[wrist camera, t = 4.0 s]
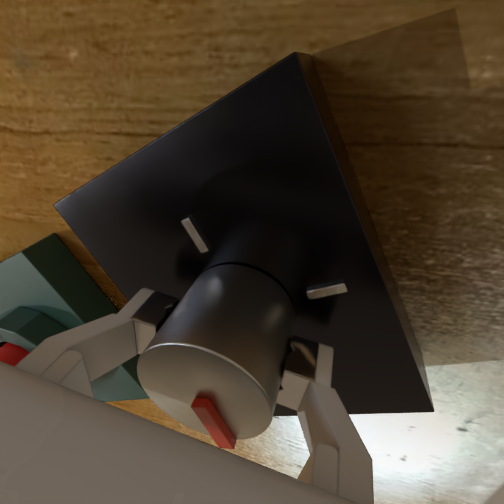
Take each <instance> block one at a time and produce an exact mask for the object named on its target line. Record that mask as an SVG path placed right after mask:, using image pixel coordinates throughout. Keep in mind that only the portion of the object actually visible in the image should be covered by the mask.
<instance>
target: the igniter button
mask: <svg viewBox="0 0 504 504" xmlns="http://www.w3.org/2000/svg"><path fill="white" fill-rule="evenodd" d="M29 353H30V352H29V351H27V350H25V349H24V348H22V347H21V346H18V345H15V344H12V343H9V342H8V343H6V344H4V345H3V346H2V347H1V348H0V361H1V362H4V363H6V364H9V365H11V366H15V365H17V364H18V363H19V362H20V361H21V360H22V359H23V358H24V357H26V356H27V355H28V354H29Z"/></svg>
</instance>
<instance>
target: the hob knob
mask: <svg viewBox="0 0 504 504" xmlns="http://www.w3.org/2000/svg"><path fill="white" fill-rule="evenodd" d="M294 326H295V310H294V307H293V304H292V302H291V300H290V298H289V296H288V295H287V293H286V292H285V290H284V289H283V288H282V287H281V286H280V285H279V284H278V283H277V282H276V281H275V280H273V279H272V278H271V277H269V276H268V275H266V274H264V273H262V272H260V271H258V270H256V269H253V268H250V267H247V266H242V265H235V264H226V265H219V266H216V267H212V268H210V269H208V270H206V271H205V272H203V273H202V274H201V275H200V276H199V277H198V278H197V279H196V281H195V282H194V284H193V285H192V286H191V288H190V289H189V290H188V292H187V293H186V294H185V296H184V297H183V298H182V300H181V301H180V302H179V304H178V305H177V307H176V308H175V309H174V311H173V312H172V313H171V315H170V316H169V317H168V319H167V320H166V321H165V323H164V324H163V325H162V327H161V328H160V329H159V331H158V332H157V334H156V335H155V336H154V338H153V339H152V340H151V342H150V343H149V344H148V346H147V347H146V348H145V350H144V351H143V352H142V354H141V355H140V357H139V360H138V363H137V374H138V378H139V381H140V383H141V385H142V387H143V389H144V391H145V392H146V393H147V395H148V396H149V397H150V399H151V400H152V401H153V402H154V403H155V404H156V405H157V406H158V407H159V408H160V409H162V410H163V411H164V412H165V413H167V414H168V415H169V416H171V417H172V418H174V419H175V420H177V421H178V422H180V423H182V424H184V425H185V426H187V427H189V428H191V429H194V430H196V431H199V432H201V433H204V434H207V435H210V436H212V438H213V439H214V441H215V442H216V443H217V445H218V446H219V448H226V449H234V447H235V444H236V439H237V440H238V439H248V438H252V437H255V436H258V435H259V434H261V433H263V432H264V431H265V430H266V429H267V428H268V426H269V425H270V423H271V421H272V418H273V414H274V410H275V405H276V401H277V397H278V393H279V389H280V384H281V377H282V373H283V368H284V364H285V361H286V358H287V352H288V348H289V344H290V340H291V336H292V334H293V330H294Z"/></svg>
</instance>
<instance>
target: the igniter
mask: <svg viewBox="0 0 504 504" xmlns="http://www.w3.org/2000/svg"><path fill="white" fill-rule="evenodd" d="M113 313H114V314H117V313H118V311H117V309H116V308H115V307H114V306H113V304H112V303H111V302H110V301H109V299H108V298H107V297H106V296H105V295H104V293H103V292H102V291H101V290H100V288H99V287H98V286H97V285H96V283H95V282H94V281H93V280H92V279H91V277H90V276H89V275H88V274H87V272H86V271H85V270H84V269H83V268H82V266H81V265H80V264H79V263H78V261H77V260H76V259H75V258H74V256H73V255H72V254H71V253H70V252H69V250H68V249H67V248H66V247H65V245H64V244H63V243H62V242H61V240H60V239H59V238H58V237H57V236H56V234H55V233H53V234H51V235H49V236H47V237H46V238H44V239H42V240H40V241H38V242H36V243H35V244H33V245H31V246H29V247H27V248H26V249H24V250H22V251H20V252H18V253H17V254H15V255H13V256H11V257H9V258H7V259H6V260H4V261H2V262H0V348H1V347H2V346H3V345H4V344H6V343H8V342H9V343H12V344H15V345H18V346H21V347H22V348H24V349H25V350H27V351H29V352H31V351H32V350H34V349H35V348H36V347H37V346H38V345H39V344H40V343H41V342H43V341H44V340H45V339H46V338H48V337H51V336H54V335H56V334H59V333H62V332H64V331H67V330H70V329H72V328H75V327H78V326H80V325H83V324H86V323H88V322H91V321H94V320H96V319H99V318H102V317H105V316H107V315H110V314H113ZM139 357H140V354H137V355H136V356H134V357H132V358H131V359H129V360H127V361H126V362H124V363H122V364H121V365H119V366H117V367H115V368H114V369H112V370H110V371H109V372H107V373H105V374H104V375H102V376H100V377H99V378H97V379H95V380H93V381H92V382H91V386H92V389H93V393H94V399H97V400H99V401H102V402H108V401H122V400H136V399H149V398H150V397H149V396H148V395H147V393H146V392H145V391H144V389H143V387H142V385H141V383H140V381H139V378H138V374H137V363H138V360H139Z"/></svg>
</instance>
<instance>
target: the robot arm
mask: <svg viewBox="0 0 504 504" xmlns="http://www.w3.org/2000/svg"><path fill="white" fill-rule="evenodd" d="M180 301H181V300H180V299H178V298H175V297H172V296H169V295H166V294H163V293H160V292H158V291H154V290H151V289H148V288H145V287H144V288H142V289H140V290H139V291H138V293H137V294H136V295H135V296H134V297H133V298H132V299H131V300H130V301H129V302H128V303H127V304H126V305H125V306H124V307H123V308H122V309H121V310H120V311H119V312H118V313H117V314H114V313H113V314H110V315H107V316H105V317H102V318H99V319H96V320H94V321H91V322H88V323H86V324H83V325H80V326H78V327H75V328H72V329H70V330H67V331H64V332H62V333H59V334H56V335H54V336H51V337H48V338H46V339H45V340H44V341H43V342H41V343H40V344H39V345H38V346H37V347H36V348H35V349H34V350H32V351H31V352H30V353H29V354H28V355H27V356H26V357H24V358H23V359H22V360H21V361H20V362H19V363H18V364H17V365H15V366H11V365H9V364H6V363H4V362H1V361H0V504H374V495H373V468H372V458H371V457H370V455H369V453H368V451H367V449H366V447H365V445H364V443H363V441H362V439H361V438H360V436H359V434H358V432H357V430H356V428H355V426H354V424H353V422H352V420H351V419H350V417H349V415H348V413H347V411H346V409H345V407H344V405H343V403H342V401H341V399H340V398H339V396H338V394H337V392H336V390H335V389H334V388H331V378H332V365H333V352H334V350H333V347H330V346H327V345H323V344H320V343H317V342H314V341H311V340H308V339H304V338H301V337H298V336H295V335H292V336H291V340H290V344H289V348H288V352H287V358H286V361H285V364H284V368H283V373H282V377H281V384H280V389H279V393H278V397H277V401H276V403H278V404H280V405H283V406H285V407H288V408H291V409H293V410H296V411H297V415H298V418H299V421H300V424H301V427H302V430H303V434H304V437H305V440H306V443H307V446H308V449H309V452H310V457H309V458H308V460H307V462H306V464H305V466H304V468H303V469H302V471H301V473H300V475H299V477H298V479H296V478H293V477H291V476H288V475H286V474H283V473H280V472H278V471H275V470H273V469H270V468H268V467H265V466H263V465H260V464H258V463H255V462H253V461H250V460H248V459H245V458H243V457H240V456H238V455H235V454H233V453H230V452H228V451H225V450H223V449H220V448H218V447H215V446H213V445H210V444H208V443H205V442H203V441H200V440H198V439H195V438H193V437H190V436H188V435H185V434H183V433H180V432H178V431H175V430H173V429H170V428H167V427H165V426H162V425H160V424H157V423H155V422H152V421H150V420H147V419H145V418H142V417H140V416H137V415H135V414H132V413H130V412H127V411H125V410H122V409H120V408H117V407H115V406H112V405H110V404H107V403H104V402H102V401H99V400H97V399H94V393H93V389H92V386H91V382H92V381H93V380H95V379H97V378H99V377H100V376H102V375H104V374H105V373H107V372H109V371H110V370H112V369H114V368H115V367H117V366H119V365H121V364H122V363H124V362H126V361H127V360H129V359H131V358H132V357H134V356H136V355H137V354H140V355H141V354H142V352H143V351H144V350H145V348H146V347H147V346H148V344H149V343H150V342H151V340H152V339H153V338H154V336H155V335H156V334H157V332H158V331H159V329H160V328H161V327H162V325H163V324H164V323H165V321H166V320H167V319H168V317H169V316H170V315H171V313H172V312H173V311H174V309H175V308H176V307H177V305H178V304H179V302H180Z"/></svg>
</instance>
